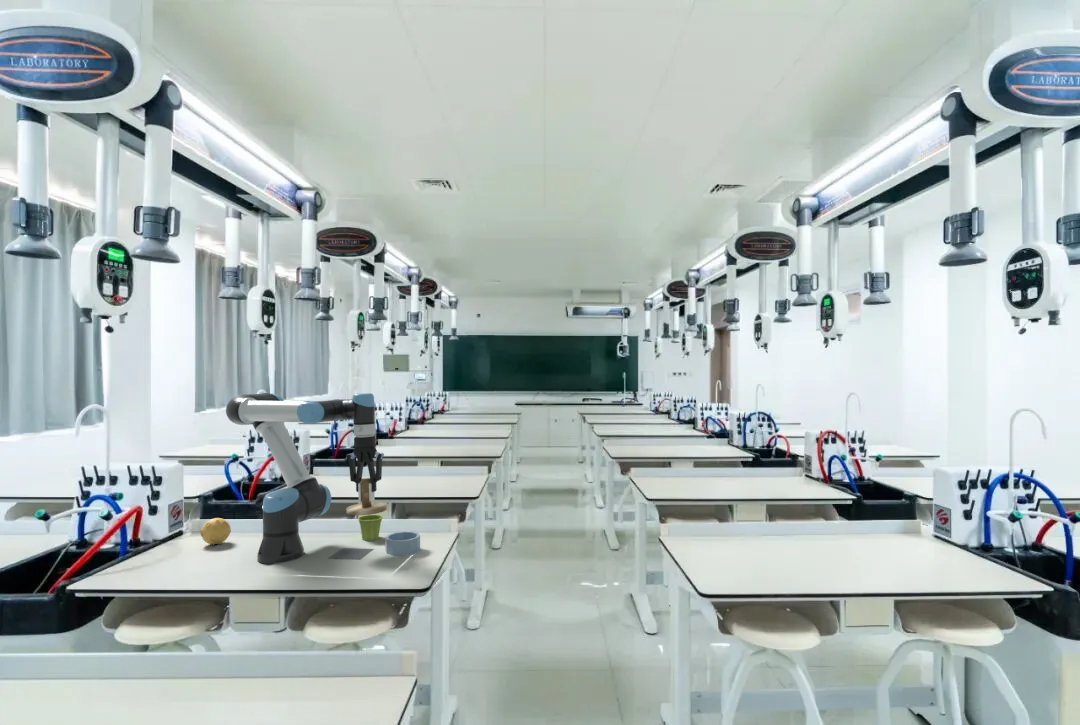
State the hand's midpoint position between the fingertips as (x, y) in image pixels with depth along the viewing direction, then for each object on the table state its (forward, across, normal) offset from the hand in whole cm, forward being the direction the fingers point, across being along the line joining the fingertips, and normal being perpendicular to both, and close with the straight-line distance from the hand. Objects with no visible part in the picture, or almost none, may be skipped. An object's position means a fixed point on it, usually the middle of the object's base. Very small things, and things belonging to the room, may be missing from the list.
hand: (366, 500), depth 208 cm
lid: (+4, 0, 0) cm, 4 cm away
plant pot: (+19, -8, +18) cm, 27 cm away
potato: (+17, -64, +4) cm, 67 cm away
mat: (+19, -6, -1) cm, 20 cm away
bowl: (+20, +11, +5) cm, 23 cm away
